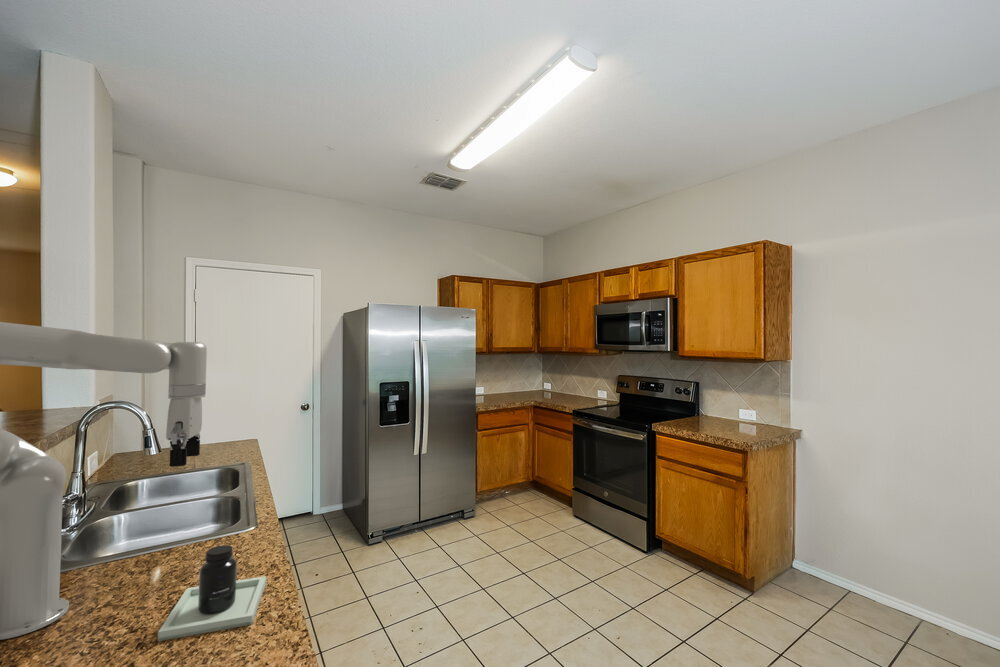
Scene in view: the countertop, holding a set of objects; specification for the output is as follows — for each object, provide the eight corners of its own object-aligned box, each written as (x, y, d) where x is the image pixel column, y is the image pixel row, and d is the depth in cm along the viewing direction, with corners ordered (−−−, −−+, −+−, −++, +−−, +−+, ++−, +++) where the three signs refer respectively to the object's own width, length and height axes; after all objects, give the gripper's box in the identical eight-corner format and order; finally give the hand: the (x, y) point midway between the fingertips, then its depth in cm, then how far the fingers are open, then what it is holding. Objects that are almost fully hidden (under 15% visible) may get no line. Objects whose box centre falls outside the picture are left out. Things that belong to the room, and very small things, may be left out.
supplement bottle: (217, 617, 90) (218, 559, 90) (189, 613, 91) (191, 555, 91) (243, 598, 96) (244, 544, 97) (217, 595, 98) (218, 541, 98)
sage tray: (157, 641, 83) (158, 632, 83) (186, 596, 98) (187, 588, 98) (252, 624, 88) (252, 615, 89) (266, 583, 104) (266, 576, 104)
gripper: (181, 388, 115) (180, 453, 114) (154, 395, 98) (152, 471, 98) (214, 387, 117) (213, 451, 117) (193, 394, 101) (191, 468, 100)
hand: (185, 460), depth 107 cm, fingers open, 9 cm apart
